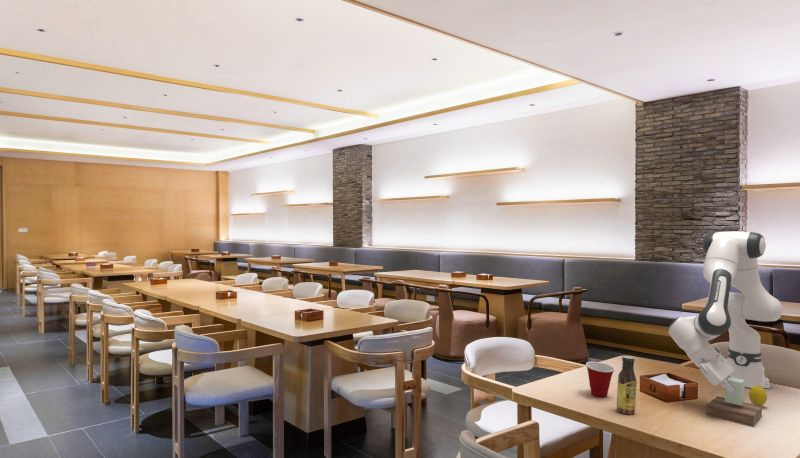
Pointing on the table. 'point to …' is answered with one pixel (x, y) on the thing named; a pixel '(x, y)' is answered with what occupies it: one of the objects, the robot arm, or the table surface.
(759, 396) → the lemon
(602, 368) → the plastic cup
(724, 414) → the walnut slab
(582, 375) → the table surface
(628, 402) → the sauce bottle
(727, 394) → the sage block
